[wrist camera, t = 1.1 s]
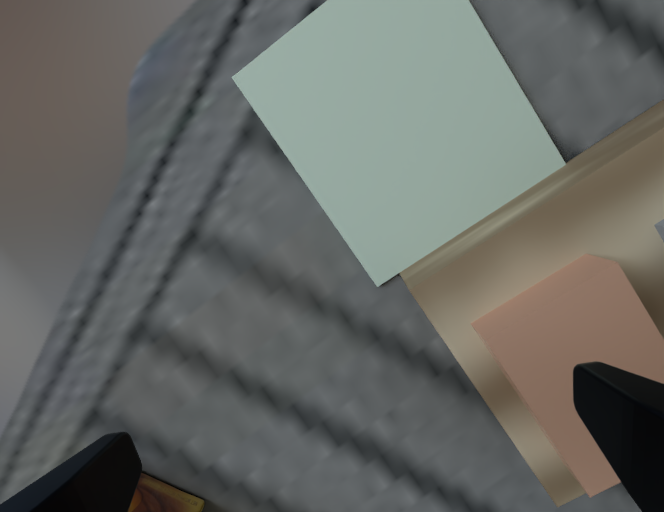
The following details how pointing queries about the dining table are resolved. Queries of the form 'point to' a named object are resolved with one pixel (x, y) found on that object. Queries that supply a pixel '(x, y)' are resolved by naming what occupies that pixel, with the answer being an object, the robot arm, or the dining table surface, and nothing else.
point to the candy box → (162, 498)
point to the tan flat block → (550, 265)
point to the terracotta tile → (572, 352)
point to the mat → (399, 123)
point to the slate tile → (660, 228)
